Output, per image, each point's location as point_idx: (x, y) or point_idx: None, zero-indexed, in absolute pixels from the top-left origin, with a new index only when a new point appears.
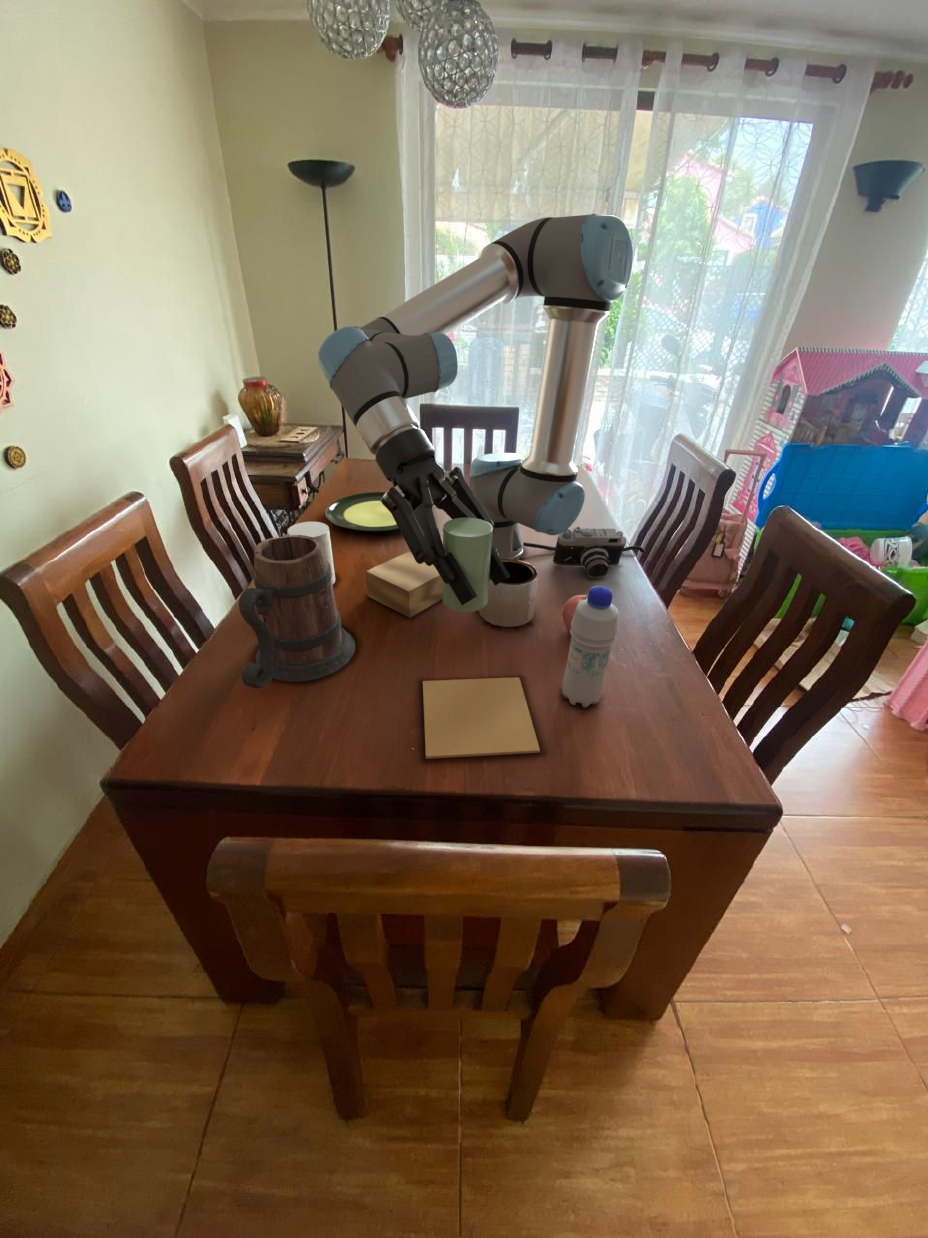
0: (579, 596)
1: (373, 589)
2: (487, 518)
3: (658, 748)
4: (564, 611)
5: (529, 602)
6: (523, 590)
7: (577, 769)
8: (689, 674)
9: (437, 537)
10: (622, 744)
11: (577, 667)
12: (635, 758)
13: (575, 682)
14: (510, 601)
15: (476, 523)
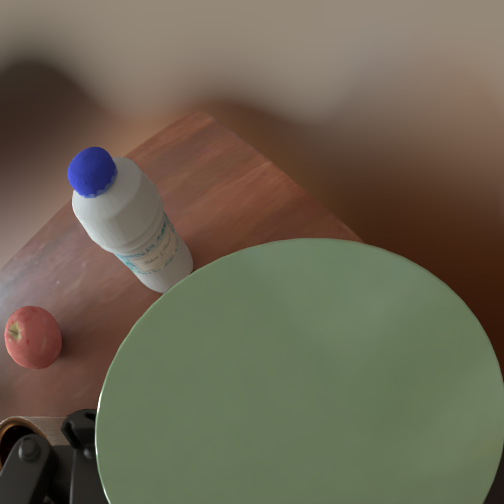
0: (12, 344)
1: None
2: (18, 474)
3: (193, 174)
4: (42, 359)
5: (52, 418)
6: (46, 426)
7: (281, 211)
8: (68, 207)
9: (497, 488)
10: (212, 198)
11: (174, 240)
12: (222, 181)
13: (183, 251)
14: None
15: (190, 454)
